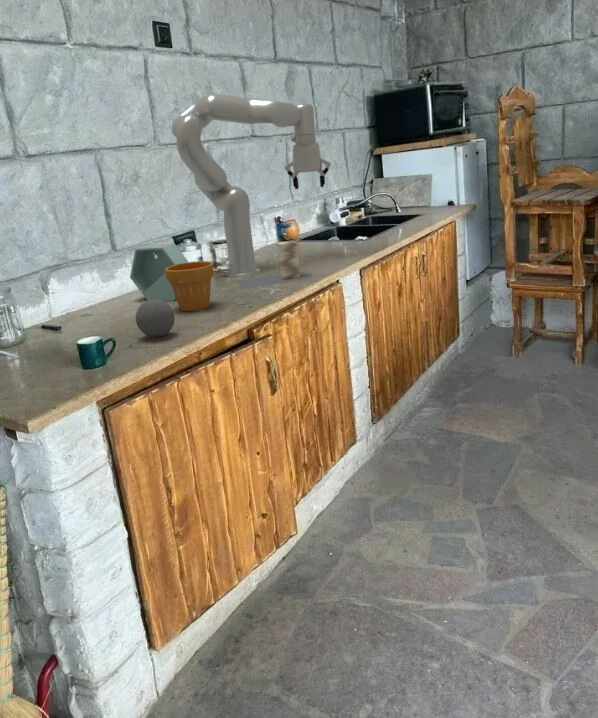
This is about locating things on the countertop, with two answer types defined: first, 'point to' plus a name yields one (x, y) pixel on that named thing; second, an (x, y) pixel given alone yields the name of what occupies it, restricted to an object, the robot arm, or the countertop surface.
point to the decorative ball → (155, 318)
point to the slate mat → (269, 280)
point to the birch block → (288, 260)
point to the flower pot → (191, 284)
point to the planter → (155, 270)
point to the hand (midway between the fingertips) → (309, 187)
